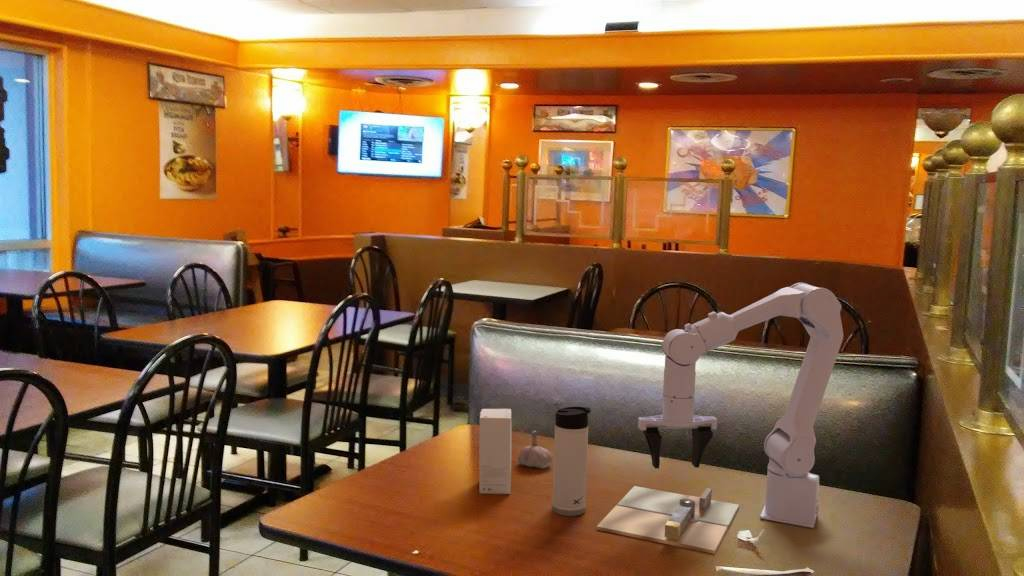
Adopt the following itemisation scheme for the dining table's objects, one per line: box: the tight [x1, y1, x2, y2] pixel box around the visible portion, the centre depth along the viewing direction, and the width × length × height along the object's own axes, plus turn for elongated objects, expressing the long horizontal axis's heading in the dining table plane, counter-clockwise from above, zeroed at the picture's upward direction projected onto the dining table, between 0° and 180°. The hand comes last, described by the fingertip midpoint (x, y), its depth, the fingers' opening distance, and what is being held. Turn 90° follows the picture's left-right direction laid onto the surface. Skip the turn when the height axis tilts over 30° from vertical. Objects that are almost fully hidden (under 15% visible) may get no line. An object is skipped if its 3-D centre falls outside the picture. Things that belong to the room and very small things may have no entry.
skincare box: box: [478, 408, 513, 495], centre depth 165 cm, size 8×7×16 cm
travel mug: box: [552, 406, 592, 517], centre depth 154 cm, size 6×7×20 cm
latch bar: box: [665, 499, 695, 540], centre depth 146 cm, size 13×3×3 cm, turn 155°
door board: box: [596, 485, 740, 555], centre depth 152 cm, size 21×23×3 cm
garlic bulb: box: [517, 430, 554, 469], centre depth 179 cm, size 8×7×8 cm
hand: (675, 466), depth 152 cm, fingers open, 7 cm apart
